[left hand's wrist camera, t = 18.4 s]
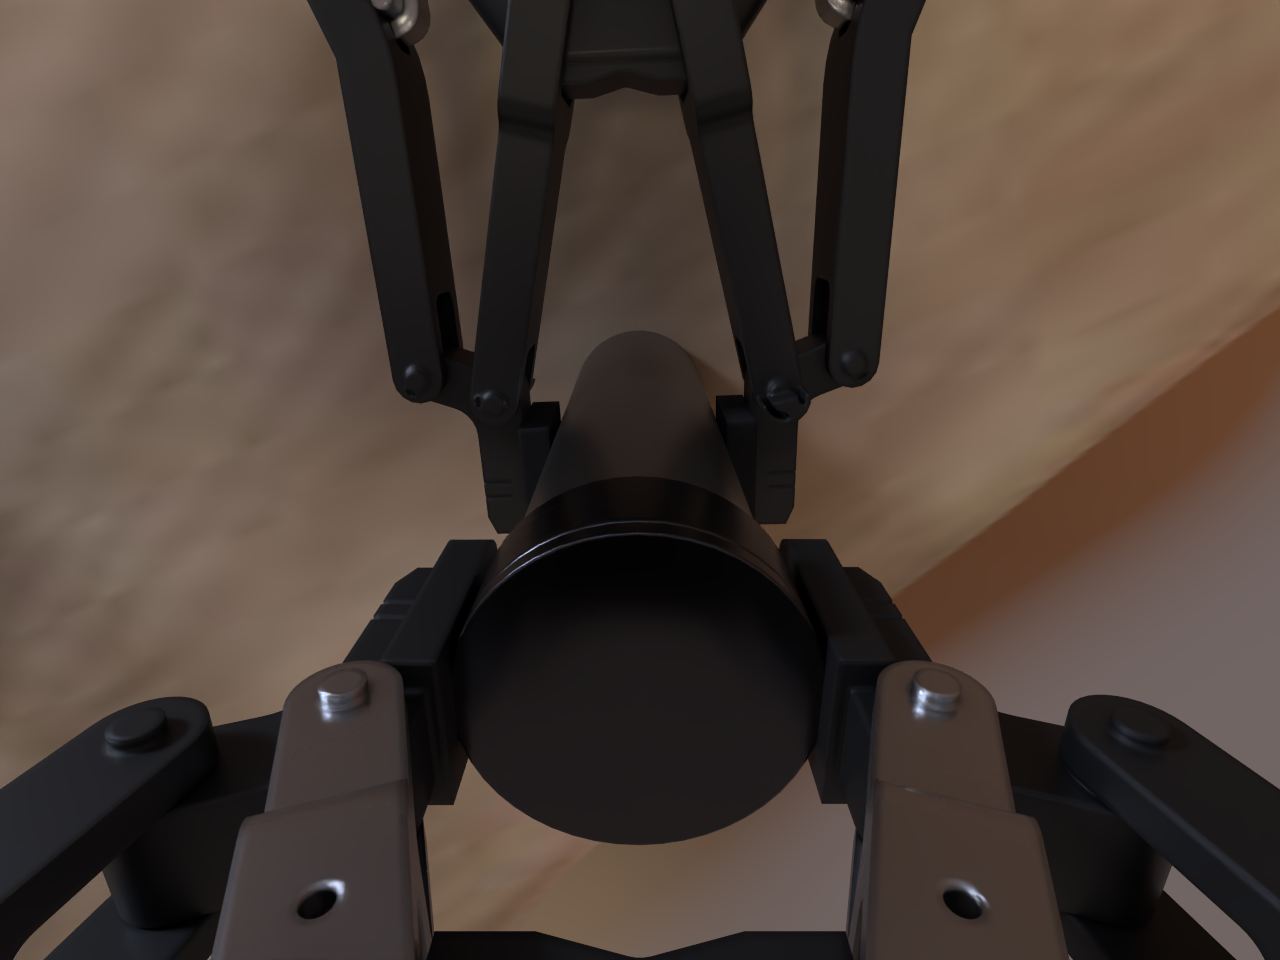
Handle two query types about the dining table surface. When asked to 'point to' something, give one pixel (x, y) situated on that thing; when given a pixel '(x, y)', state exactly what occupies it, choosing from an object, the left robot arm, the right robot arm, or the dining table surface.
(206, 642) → the dining table surface
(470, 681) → the lid
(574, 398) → the brown long cylinder
